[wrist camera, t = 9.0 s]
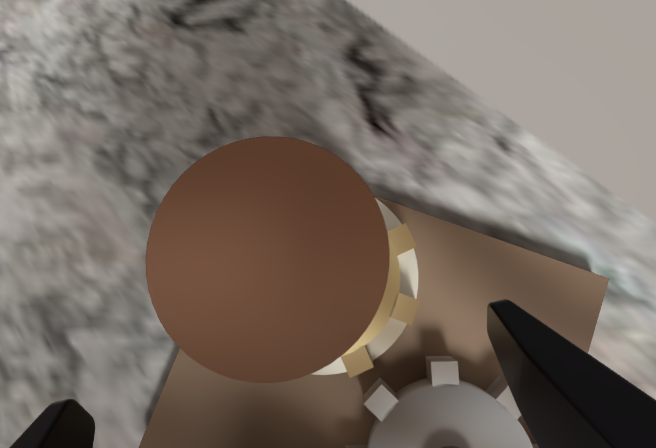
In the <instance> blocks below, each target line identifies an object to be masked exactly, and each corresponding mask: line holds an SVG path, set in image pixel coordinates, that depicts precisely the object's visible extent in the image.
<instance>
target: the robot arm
mask: <svg viewBox="0 0 656 448" xmlns="http://www.w3.org/2000/svg"><path fill="white" fill-rule="evenodd" d="M487 333H488V336H489V339H490V342H491V344H492V347H493V349H494V352H495V354H496V356H497V359H498V361H499V364H500V366H501V369H502V371H503V374H504V376H505V378H506V381H507V383H508V386H509V388H510V391H511V393H512V396H513V398H514V400H515V403H516V405H517V407H518V409H519V411H520V413H521V415H522V417H523V419H524V421H525V423H526V425H527V426H528V428H529V430H530V432H531V434H532V436H533V438H534V439H535V441H536V443H537V445H538V447H539V448H656V400H655V399H653V398H652V397H650V396H649V395H647V394H646V393H645V392H643V391H642V390H640V389H639V388H637V387H636V386H634V385H633V384H631V383H630V382H629V381H627V380H626V379H624V378H623V377H621V376H620V375H618V374H617V373H615V372H614V371H613V370H611V369H610V368H608V367H607V366H605V365H604V364H602V363H601V362H599V361H598V360H597V359H595V358H594V357H592V356H591V355H589V354H588V353H586V352H585V351H583V350H582V349H581V348H579V347H578V346H576V345H575V344H573V343H572V342H570V341H569V340H568V339H566V338H565V337H563V336H562V335H560V334H559V333H557V332H556V331H554V330H553V329H552V328H550V327H549V326H547V325H546V324H544V323H543V322H541V321H540V320H538V319H537V318H536V317H534V316H533V315H531V314H530V313H528V312H527V311H525V310H524V309H522V308H521V307H520V306H518V305H517V304H515V303H514V302H512V301H511V300H508V299H502V300H498V301H494V302H490V303H489V304H488V306H487ZM94 433H95V422H94V419H93V417H92V416H91V415H90V414H89V413H88V412H87V411H86V410H85V409H84V408H83V407H82V406H81V405H80V404H79V403H78V402H77V401H75V400H74V399H66V400H62V401H57V402H54V403H52V404H50V405H49V406H48V407H47V408H46V409H45V410H44V411H43V412H42V413H41V415H40V416H39V417H38V418H37V419H36V420H35V421H34V422H33V423H32V424H31V425H30V426H29V427H28V428H27V430H26V431H25V432H24V433H23V434H22V435H21V436H20V437H19V438H18V439H17V440H16V441H15V442H14V444H13V445H12V446H11V447H10V448H93V441H94Z"/></svg>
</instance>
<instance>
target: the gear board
mask: <svg viewBox="0 0 656 448" xmlns="http://www.w3.org/2000/svg"><path fill="white" fill-rule="evenodd" d="M373 196H374V195H373ZM374 197H375V199H376V201H377V203H378V205H379V208H380V210H381V213H382V215H383V218H384V221H385V225H386V229H387V231H389V230H391V229H393V228H396V227H398V226H400V225H402V224H404V223H406V225H407V227H408V229H409V231H410V233H411V235H412V237H413V239H414V241H415V243H416V245H417V246H416V247H414V248H413V249H411V250H409V251H407V252H405V253H402V254H400V255H398V256H397V257H398V261H399V267H400V289H399V293H401V294H404V295H407V296H409V297H412V298H414V299H417V300H420V303H419V306H418V309H417V311H416V314H415V317H414V320H413V323H412V325H409V324H407V323H404V322H401V321H399V320H396V319H394V318H391V317H390V318H389V320H388V322H387V324H386V325H385V326H384V328H383V329H382V330H381V331H380V333H379V334H378V335H377V336H376V337H374V338H373V339H372V340H371V341H370V342H369V343H367V344H366V345H365V346H366V348H367V350H368V352H369V355H370V357H371V359H372V361H373V366H374V367H373V368H371V369H369V370H367V371H364V372H362V373H360V374H358V375H356V376H353V377H351V378H350V377H349V375H348V373H347V370H346V368H345V366H344V363H343V361H342V359H341V357H339V358H338V359H337V360H335V361H334V362H332V363H331V364H329V365H328V366H326V367H324V368H322V369H320V370H318V371H317V372H314V373H312V374H309V375H306V376H304V377H301V378H298V379H293V380H289V381H285V382H276V383H251V382H245V381H240V380H234V379H231V378H228V377H225V376H222V375H219V374H217V373H215V372H213V371H211V370H209V369H207V368H205V367H203V366H202V365H200V364H199V363H197V362H196V361H195V360H193V359H192V358H190V357H189V356H188V355H187V354H186V353H185V352H184V351H183V350H182V349H181V348H180V349H179V351H178V354H177V356H176V359H175V361H174V363H173V366H172V368H171V371H170V373H169V376H168V378H167V380H166V383H165V385H164V388H163V390H162V392H161V395H160V397H159V400H158V402H157V405H156V407H155V409H154V412H153V414H152V417H151V419H150V421H149V424H148V426H147V429H146V431H145V434H144V436H143V438H142V441H141V443H140V446H139V448H539V447H538V445H537V443H536V441H535V439H534V438H533V436H532V434H531V432H530V430H529V428H528V426H527V425H526V423H525V421H524V419H523V417H522V415H521V413H520V411H519V409H518V407H517V405H516V403H515V400H514V398H513V396H512V393H511V391H510V388H509V386H508V383H507V381H506V378H505V376H504V374H503V371H502V369H501V366H500V364H499V361H498V359H497V356H496V354H495V352H494V349H493V347H492V344H491V342H490V339H489V336H488V333H487V306H488V304H489V303H490V302H494V301H498V300H502V299H508V300H511V301H512V302H514V303H515V304H517V305H518V306H520V307H521V308H522V309H524V310H525V311H527V312H528V313H530V314H531V315H533V316H534V317H536V318H537V319H538V320H540V321H541V322H543V323H544V324H546V325H547V326H549V327H550V328H552V329H553V330H554V331H556V332H557V333H559V334H560V335H562V336H563V337H565V338H566V339H568V340H569V341H570V342H572V343H573V344H575V345H576V346H578V347H579V348H581V349H582V350H583V351H585V352H586V353H588V350H589V347H590V344H591V340H592V337H593V333H594V330H595V326H596V323H597V319H598V316H599V312H600V309H601V306H602V302H603V299H604V295H605V292H606V288H607V285H608V281H609V278H606V277H603V276H601V275H598V274H595V273H592V272H589V271H586V270H584V269H581V268H578V267H575V266H572V265H569V264H567V263H564V262H561V261H558V260H555V259H552V258H550V257H547V256H544V255H541V254H538V253H535V252H533V251H530V250H527V249H524V248H521V247H518V246H516V245H513V244H510V243H507V242H504V241H501V240H499V239H496V238H493V237H490V236H487V235H484V234H482V233H479V232H476V231H473V230H470V229H467V228H465V227H462V226H459V225H456V224H453V223H450V222H448V221H445V220H442V219H439V218H436V217H433V216H431V215H428V214H425V213H422V212H419V211H416V210H414V209H411V208H408V207H405V206H402V205H399V204H397V203H394V202H391V201H388V200H385V199H382V198H380V197H377V196H374Z"/></svg>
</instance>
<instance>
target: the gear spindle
mask: <svg viewBox="0 0 656 448" xmlns="http://www.w3.org/2000/svg"><path fill="white" fill-rule="evenodd" d="M416 246H417V245H416V243H415V241H414V239H413V237H412V235H411V233H410V231H409V229H408V227H407V225H406V223H404V224H402V225H400V226H398V227H396V228H393V229H391V230H389V231H387V229H386V225H385V221H384V218H383V215H382V213H381V210H380V208H379V205H378V203H377V201H376V199H375V197H374V196H373V194H372V192H371V190H370V189H369V188H368V186H367V185H366V184H365V182H364V181H363V180H362V178H361V177H360V176H359V175H358V174H357V173H356V172H355V171H354V170H353V169H352V168H351V167H350V166H349V165H348V164H346V163H345V162H344V161H343V160H341V159H340V158H339V157H337V156H336V155H334V154H332V153H331V152H329V151H327V150H325V149H323V148H321V147H319V146H316V145H314V144H312V143H309V142H305V141H301V140H298V139H293V138H286V137H257V138H249V139H245V140H241V141H237V142H233V143H231V144H228V145H226V146H223V147H220V148H218V149H217V150H215V151H213V152H211V153H209V154H207V155H206V156H204V157H203V158H201V159H200V160H198V161H197V162H196V163H194V164H193V165H192V166H191V167H190V168H189V169H187V170H186V171H185V172H184V173H183V174H182V175H181V176H180V177H179V179H178V180H177V181H176V182H175V183H174V184H173V185H172V187H171V188H170V190H169V191H168V193H167V194H166V196H165V197H164V199H163V201H162V203H161V205H160V206H159V208H158V210H157V212H156V215H155V218H154V220H153V223H152V226H151V229H150V234H149V238H148V242H147V251H146V277H147V283H148V290H149V293H150V297H151V300H152V304H153V306H154V309H155V311H156V313H157V316H158V318H159V320H160V322H161V323H162V325H163V327H164V328H165V330H166V331H167V333H168V334H169V336H170V337H171V338H172V339H173V341H174V342H175V343H176V344H177V346H178V347H179V348H181V349H182V350H183V351H184V352H185V353H186V354H187V355H188V356H189V357H190V358H192V359H193V360H195V361H196V362H197V363H199V364H200V365H202V366H203V367H205V368H207V369H209V370H211V371H213V372H215V373H217V374H219V375H222V376H225V377H228V378H231V379H234V380H240V381H245V382H251V383H276V382H285V381H289V380H293V379H298V378H301V377H304V376H306V375H309V374H312V373H314V372H317V371H318V370H320V369H322V368H324V367H326V366H328V365H329V364H331V363H332V362H334V361H335V360H337V359H338V358H339V357H341V359H342V361H343V363H344V366H345V368H346V370H347V373H348V375H349V377H350V378H351V377H353V376H356V375H358V374H360V373H362V372H364V371H367V370H369V369H371V368H373V367H374V366H373V361H372V359H371V357H370V355H369V352H368V350H367V348H366V346H365V345H366V344H367V343H369V342H370V341H371V340H372V339H373V338H374V337H376V336H377V335H378V334H379V333H380V331H381V330H382V329H383V328H384V326H385V325H386V324H387V322H388V320H389V318H390V317H391V318H394V319H396V320H399V321H401V322H404V323H407V324H409V325H412V323H413V320H414V317H415V314H416V311H417V309H418V306H419V303H420V300H417V299H414V298H412V297H409V296H407V295H404V294H401V293H399V289H400V267H399V261H398V257H397V256H398V255H400V254H402V253H405V252H407V251H409V250H411V249H413V248H414V247H416Z"/></svg>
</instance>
